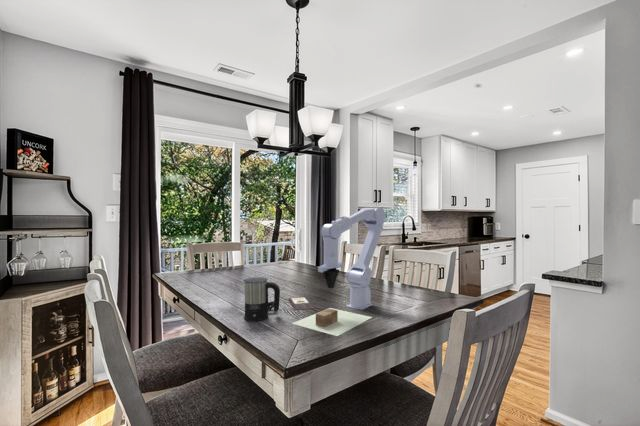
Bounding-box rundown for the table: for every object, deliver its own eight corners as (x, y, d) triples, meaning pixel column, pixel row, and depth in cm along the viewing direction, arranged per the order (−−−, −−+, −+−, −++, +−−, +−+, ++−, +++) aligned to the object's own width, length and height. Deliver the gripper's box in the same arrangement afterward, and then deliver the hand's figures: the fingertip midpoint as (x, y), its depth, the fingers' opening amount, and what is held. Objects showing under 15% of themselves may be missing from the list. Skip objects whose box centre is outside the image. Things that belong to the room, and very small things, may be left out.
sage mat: (329, 308, 137) (329, 307, 137) (372, 318, 125) (372, 317, 125) (291, 324, 118) (291, 323, 118) (337, 337, 106) (337, 336, 106)
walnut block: (328, 308, 123) (315, 313, 117) (337, 310, 121) (324, 315, 114) (328, 319, 123) (315, 325, 117) (337, 321, 121) (324, 327, 114)
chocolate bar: (295, 309, 134) (288, 298, 152) (295, 312, 134) (288, 300, 152) (316, 308, 136) (307, 297, 154) (316, 310, 136) (307, 299, 154)
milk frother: (245, 322, 120) (245, 282, 120) (240, 310, 135) (240, 274, 135) (282, 318, 125) (282, 279, 125) (274, 307, 140) (274, 272, 140)
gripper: (328, 256, 123) (328, 292, 123) (348, 252, 134) (348, 285, 134) (313, 255, 127) (313, 289, 127) (334, 251, 138) (334, 283, 139)
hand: (330, 287), depth 131 cm, fingers closed
